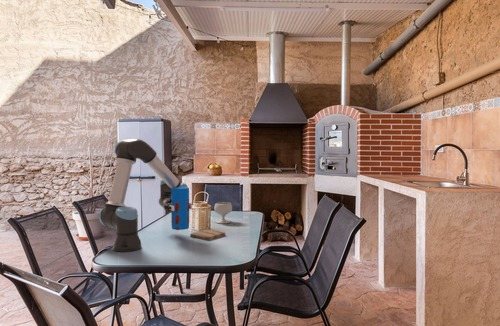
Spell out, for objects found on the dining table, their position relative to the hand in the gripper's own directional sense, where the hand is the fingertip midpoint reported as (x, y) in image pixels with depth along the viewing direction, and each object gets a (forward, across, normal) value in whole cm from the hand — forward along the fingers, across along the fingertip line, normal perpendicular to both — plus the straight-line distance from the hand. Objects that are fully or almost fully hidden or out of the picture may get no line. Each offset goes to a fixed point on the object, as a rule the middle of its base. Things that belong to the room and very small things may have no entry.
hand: (182, 208), depth 212 cm
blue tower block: (-4, 0, -13) cm, 14 cm away
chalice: (-39, -48, -20) cm, 65 cm away
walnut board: (-5, -19, -20) cm, 28 cm away
